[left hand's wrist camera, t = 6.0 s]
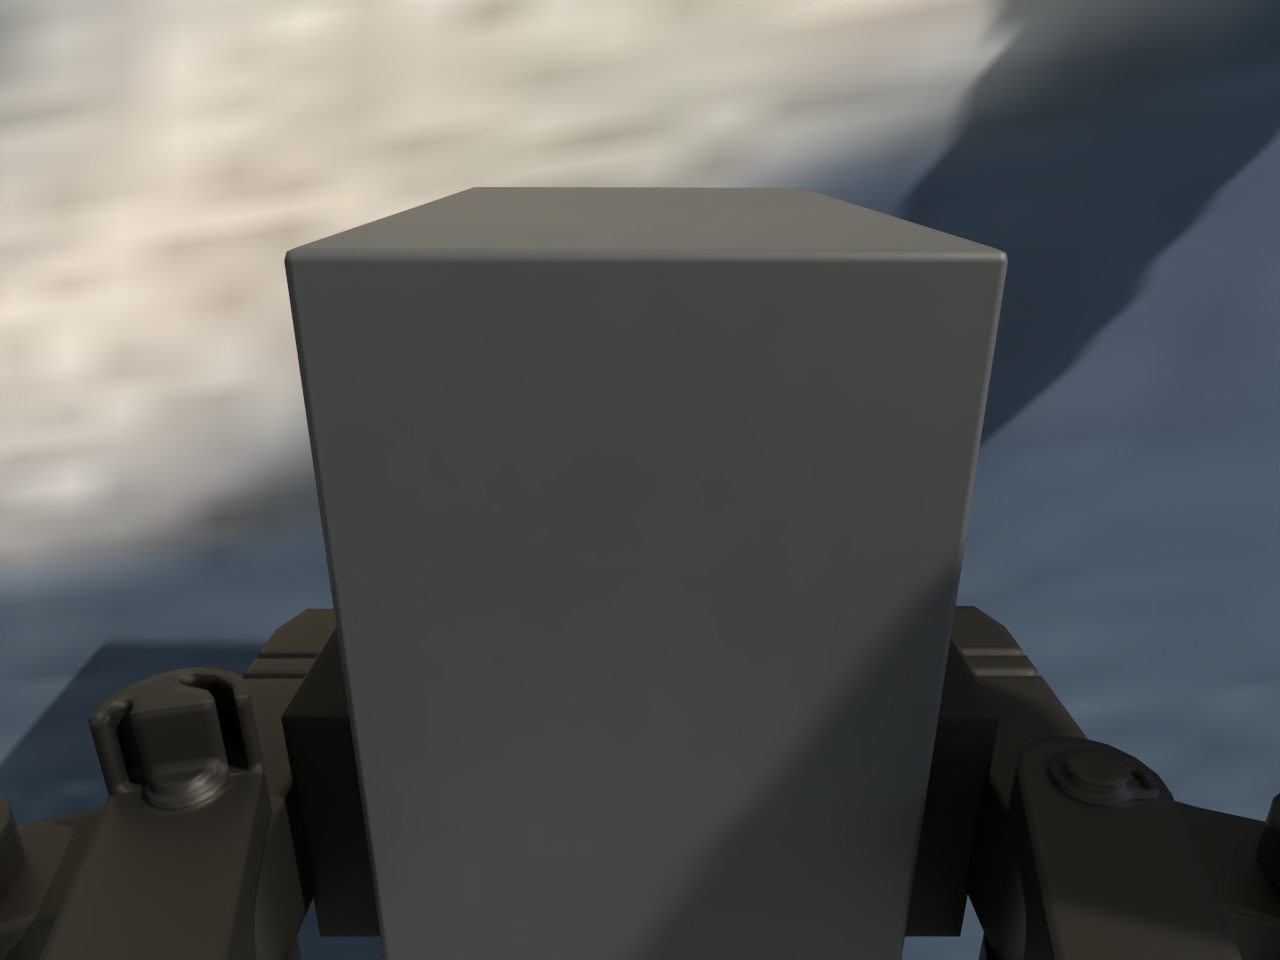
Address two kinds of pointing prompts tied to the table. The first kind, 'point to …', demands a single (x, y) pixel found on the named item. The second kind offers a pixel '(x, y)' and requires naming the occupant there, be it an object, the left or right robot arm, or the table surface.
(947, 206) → the table surface
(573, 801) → the beam
